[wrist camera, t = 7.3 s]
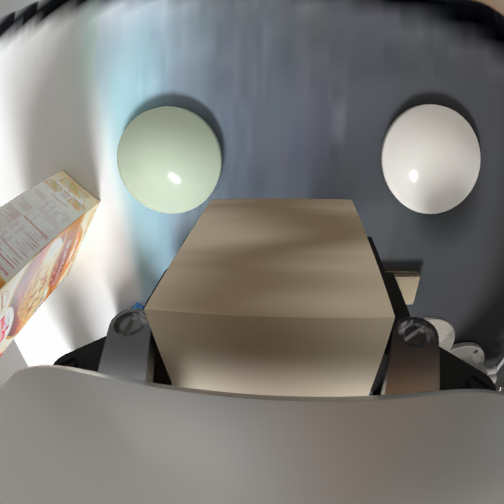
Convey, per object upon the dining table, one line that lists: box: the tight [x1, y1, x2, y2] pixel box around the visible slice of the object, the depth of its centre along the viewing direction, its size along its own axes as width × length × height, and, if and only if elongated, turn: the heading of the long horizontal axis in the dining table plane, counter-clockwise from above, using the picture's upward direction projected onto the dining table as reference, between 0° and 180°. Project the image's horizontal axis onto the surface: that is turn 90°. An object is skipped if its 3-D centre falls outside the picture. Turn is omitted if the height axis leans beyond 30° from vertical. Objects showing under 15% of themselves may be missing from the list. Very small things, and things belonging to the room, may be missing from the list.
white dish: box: [381, 104, 480, 214], centre depth 26 cm, size 11×11×1 cm
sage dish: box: [117, 106, 223, 214], centre depth 29 cm, size 11×11×1 cm
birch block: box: [144, 199, 395, 397], centre depth 10 cm, size 5×5×6 cm
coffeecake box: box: [0, 170, 100, 356], centre depth 27 cm, size 15×7×20 cm, turn 141°
